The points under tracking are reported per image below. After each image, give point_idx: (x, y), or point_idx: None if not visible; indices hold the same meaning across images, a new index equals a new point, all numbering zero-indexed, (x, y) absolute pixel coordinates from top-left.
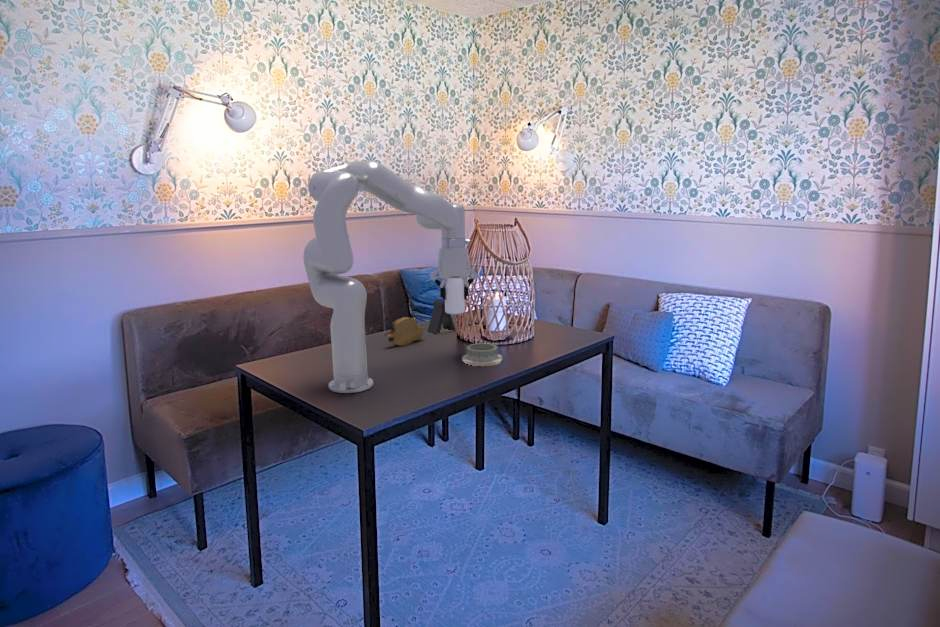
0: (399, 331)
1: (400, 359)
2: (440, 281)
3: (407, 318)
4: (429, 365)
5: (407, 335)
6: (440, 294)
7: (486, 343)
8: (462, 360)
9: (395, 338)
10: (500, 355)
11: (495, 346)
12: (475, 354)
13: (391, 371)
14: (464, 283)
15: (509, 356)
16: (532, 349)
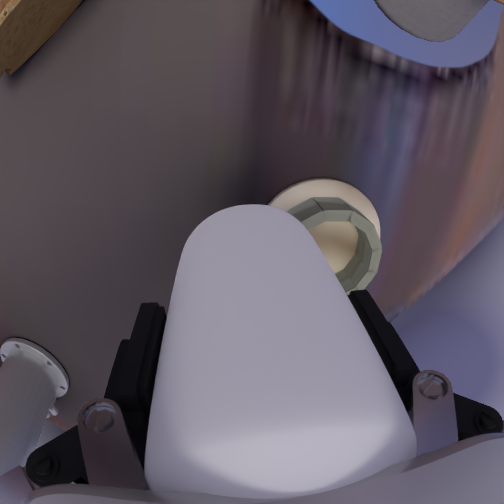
0: (11, 49)
1: (57, 201)
2: (88, 461)
3: (11, 11)
4: (150, 269)
5: (50, 16)
6: (121, 357)
7: (358, 217)
8: None
9: (12, 64)
10: (379, 230)
11: (375, 259)
12: None
13: (65, 303)
14: (408, 411)
15: (403, 209)
16: (473, 153)
